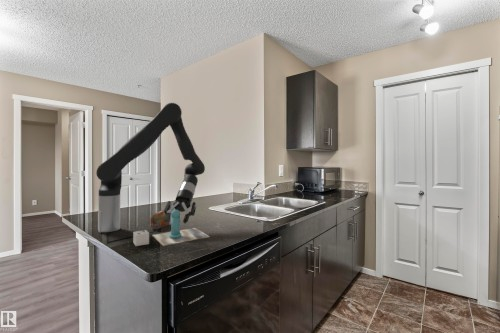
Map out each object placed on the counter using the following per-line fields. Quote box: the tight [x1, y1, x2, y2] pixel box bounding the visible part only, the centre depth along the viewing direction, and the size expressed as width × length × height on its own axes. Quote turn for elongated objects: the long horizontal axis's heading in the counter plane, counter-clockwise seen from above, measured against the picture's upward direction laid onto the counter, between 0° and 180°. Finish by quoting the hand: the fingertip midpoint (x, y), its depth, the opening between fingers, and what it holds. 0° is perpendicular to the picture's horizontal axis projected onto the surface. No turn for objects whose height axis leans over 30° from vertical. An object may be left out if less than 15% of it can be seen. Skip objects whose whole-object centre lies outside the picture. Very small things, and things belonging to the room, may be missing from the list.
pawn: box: [169, 209, 181, 239], centre depth 109 cm, size 5×5×12 cm
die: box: [132, 229, 150, 247], centre depth 100 cm, size 5×5×5 cm
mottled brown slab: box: [150, 209, 171, 231], centre depth 125 cm, size 15×3×8 cm, turn 168°
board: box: [151, 227, 211, 247], centre depth 110 cm, size 21×17×1 cm
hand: (175, 222), depth 108 cm, fingers open, 8 cm apart
